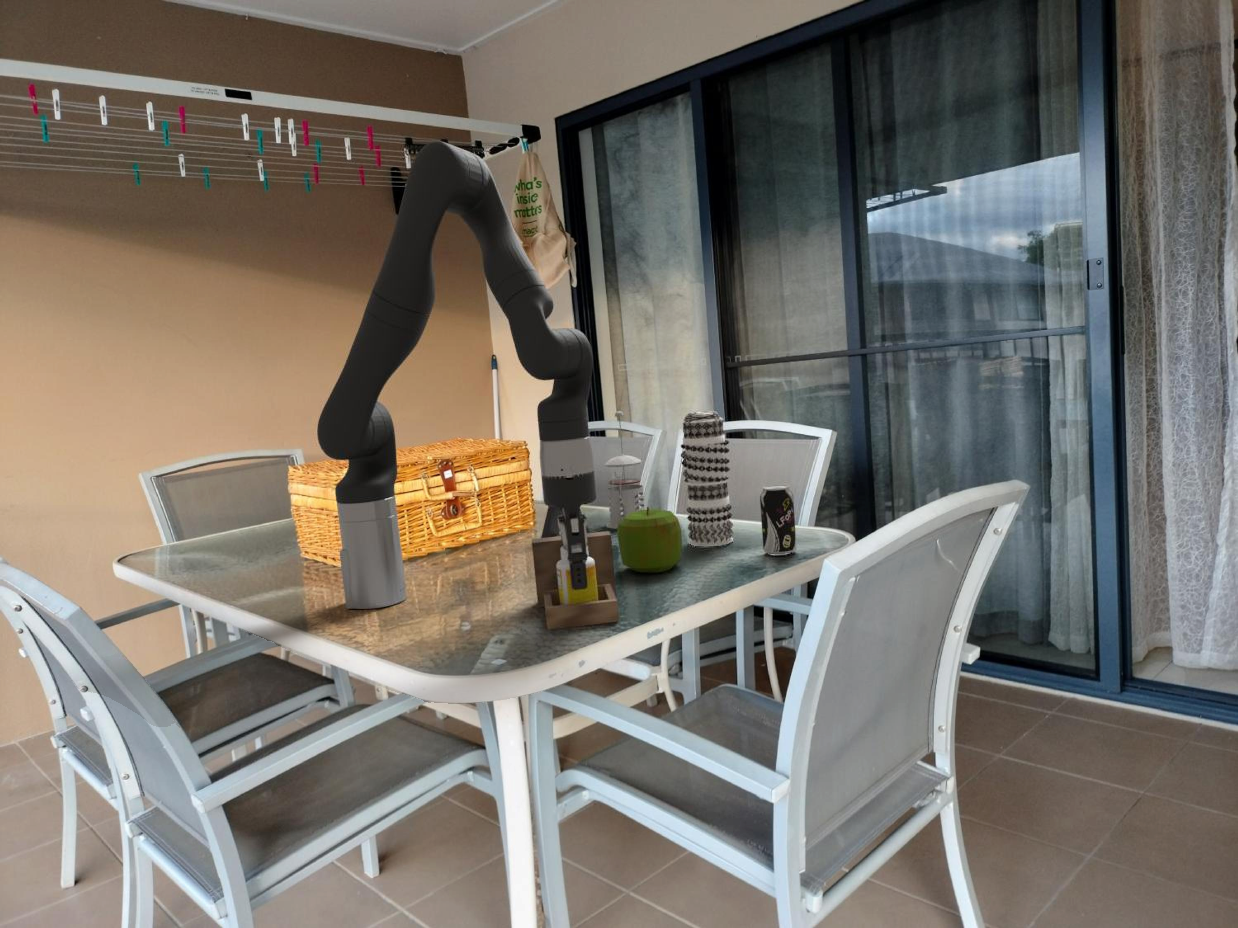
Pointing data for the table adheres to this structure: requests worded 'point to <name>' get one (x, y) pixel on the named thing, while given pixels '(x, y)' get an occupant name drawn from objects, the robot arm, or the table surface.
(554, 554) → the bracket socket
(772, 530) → the beverage can
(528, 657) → the table surface
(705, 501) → the decorative candle
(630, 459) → the french press
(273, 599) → the table surface
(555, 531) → the phone stand
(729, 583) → the table surface
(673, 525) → the apple
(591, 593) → the supplement bottle
